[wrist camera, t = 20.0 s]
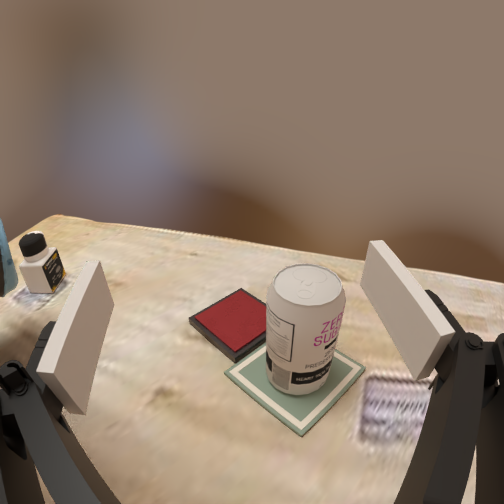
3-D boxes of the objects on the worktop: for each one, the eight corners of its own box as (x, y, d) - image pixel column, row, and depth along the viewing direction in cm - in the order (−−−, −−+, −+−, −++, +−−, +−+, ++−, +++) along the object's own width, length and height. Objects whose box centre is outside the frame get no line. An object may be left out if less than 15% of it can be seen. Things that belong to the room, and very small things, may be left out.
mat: (224, 374, 39) (223, 371, 39) (292, 324, 47) (292, 321, 47) (301, 437, 30) (301, 435, 30) (365, 369, 38) (366, 367, 38)
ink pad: (189, 323, 48) (188, 316, 47) (241, 293, 54) (241, 286, 53) (235, 363, 41) (234, 356, 40) (288, 324, 47) (289, 317, 46)
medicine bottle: (53, 293, 54) (33, 243, 47) (29, 293, 53) (9, 245, 47) (66, 274, 60) (50, 226, 53) (43, 274, 59) (26, 228, 53)
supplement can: (274, 345, 43) (277, 255, 35) (331, 355, 41) (350, 266, 33) (258, 390, 36) (256, 301, 28) (322, 403, 34) (345, 316, 26)
